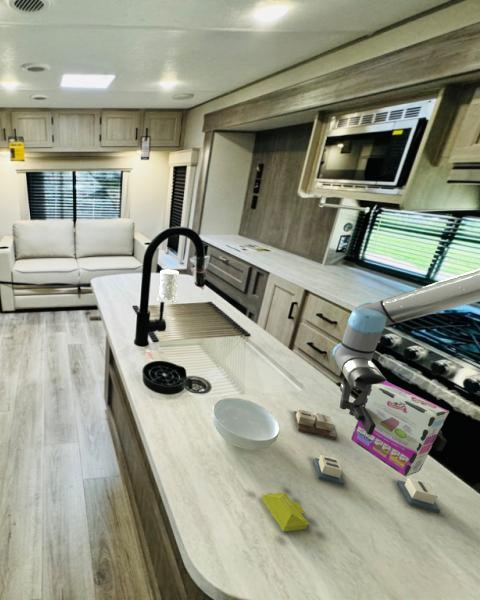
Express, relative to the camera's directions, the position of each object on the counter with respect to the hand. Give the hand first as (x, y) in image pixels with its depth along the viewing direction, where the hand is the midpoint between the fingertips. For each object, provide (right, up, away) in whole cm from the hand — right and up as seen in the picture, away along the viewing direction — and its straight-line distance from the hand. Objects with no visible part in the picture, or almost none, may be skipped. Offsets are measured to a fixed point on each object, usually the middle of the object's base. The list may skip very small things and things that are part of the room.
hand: (405, 437), depth 65 cm
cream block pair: (+2, -9, +28) cm, 29 cm away
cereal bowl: (-22, -11, +25) cm, 35 cm away
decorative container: (-14, +29, +127) cm, 131 cm away
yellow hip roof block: (-23, -19, +4) cm, 30 cm away
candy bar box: (+2, -7, +7) cm, 10 cm away
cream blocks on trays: (+2, -16, +10) cm, 19 cm away
